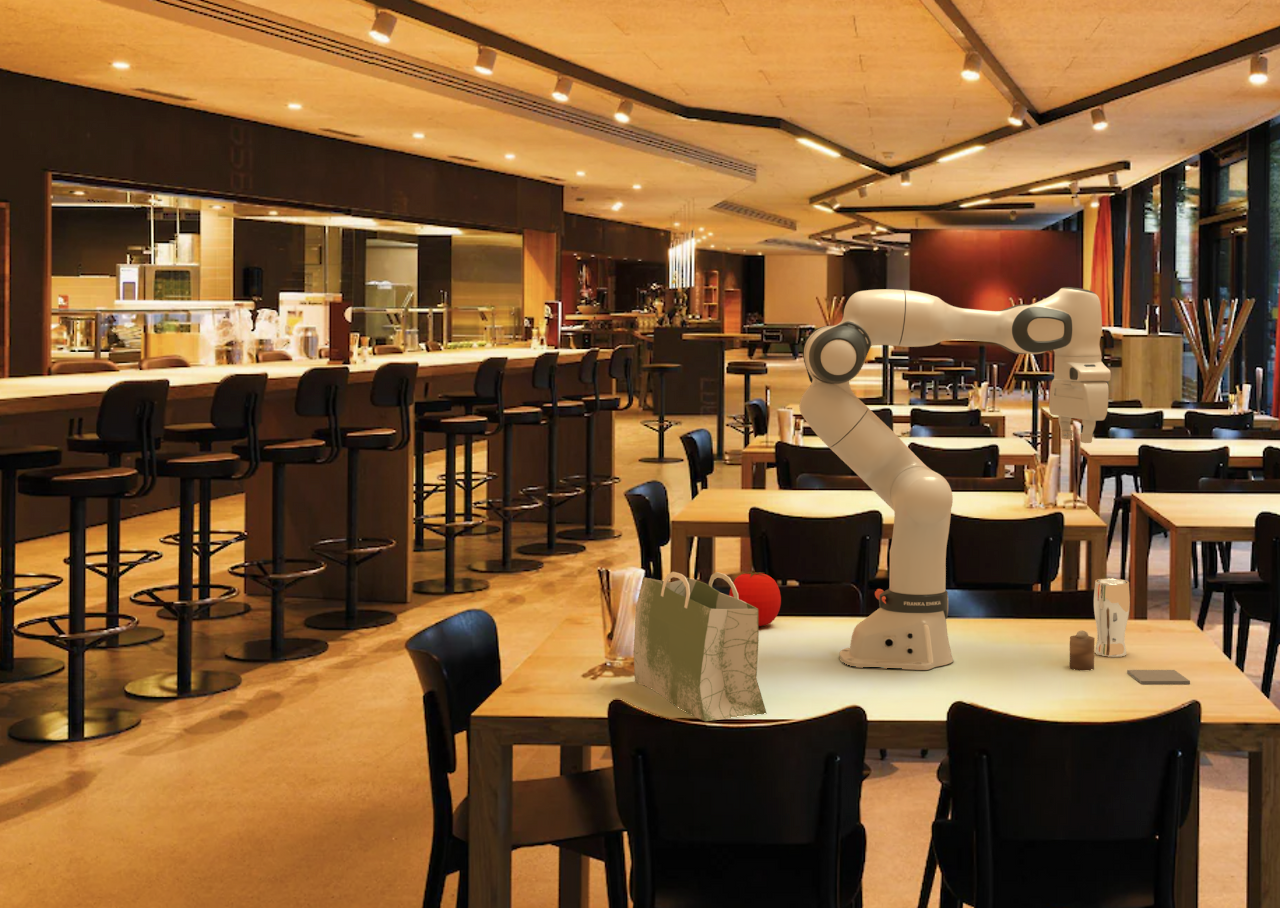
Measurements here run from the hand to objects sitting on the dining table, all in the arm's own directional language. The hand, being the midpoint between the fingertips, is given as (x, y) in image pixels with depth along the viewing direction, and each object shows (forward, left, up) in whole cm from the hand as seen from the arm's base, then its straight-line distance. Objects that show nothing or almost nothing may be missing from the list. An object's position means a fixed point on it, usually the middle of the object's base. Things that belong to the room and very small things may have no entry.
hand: (1076, 440), depth 297 cm
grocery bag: (-75, -28, -44) cm, 91 cm away
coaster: (+12, -15, -44) cm, 48 cm away
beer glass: (+9, +6, -44) cm, 46 cm away
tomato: (-62, +35, -44) cm, 84 cm away
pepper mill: (0, -6, -44) cm, 45 cm away
